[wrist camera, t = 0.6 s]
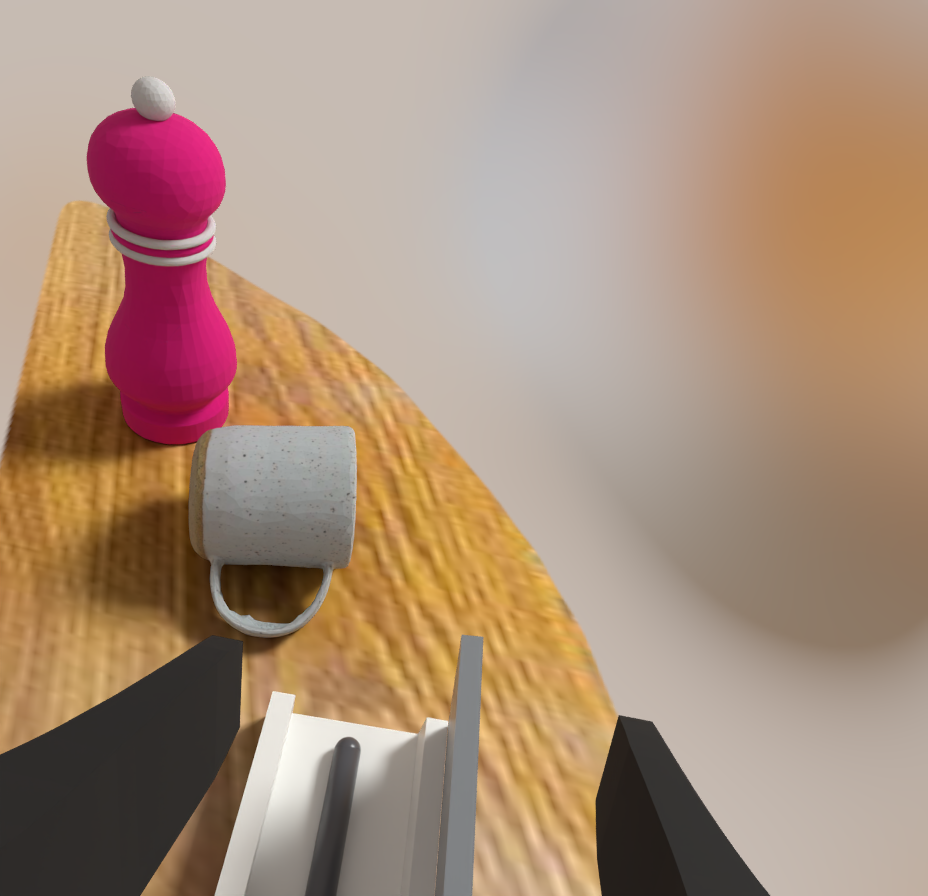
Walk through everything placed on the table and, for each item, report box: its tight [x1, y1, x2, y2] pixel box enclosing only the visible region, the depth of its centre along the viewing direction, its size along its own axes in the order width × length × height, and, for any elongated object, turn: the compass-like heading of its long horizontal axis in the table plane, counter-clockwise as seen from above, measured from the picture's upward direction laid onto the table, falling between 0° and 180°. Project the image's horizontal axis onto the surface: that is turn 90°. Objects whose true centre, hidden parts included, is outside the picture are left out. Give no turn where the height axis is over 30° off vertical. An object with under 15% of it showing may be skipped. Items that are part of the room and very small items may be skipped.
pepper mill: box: [87, 77, 237, 444], centre depth 35 cm, size 7×7×20 cm
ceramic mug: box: [189, 426, 357, 638], centre depth 33 cm, size 11×8×8 cm
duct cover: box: [435, 635, 483, 896], centre depth 21 cm, size 14×8×1 cm
